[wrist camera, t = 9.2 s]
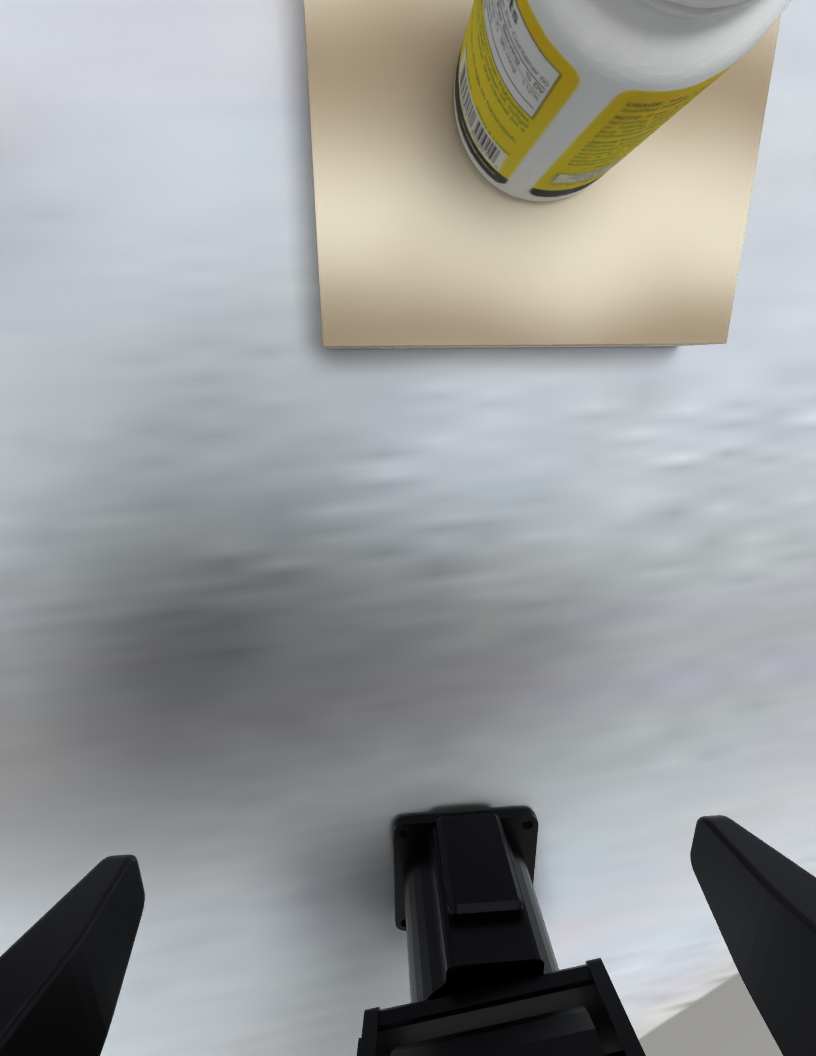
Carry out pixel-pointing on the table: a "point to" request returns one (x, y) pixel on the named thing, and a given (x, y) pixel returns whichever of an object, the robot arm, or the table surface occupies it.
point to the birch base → (512, 204)
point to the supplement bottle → (587, 81)
